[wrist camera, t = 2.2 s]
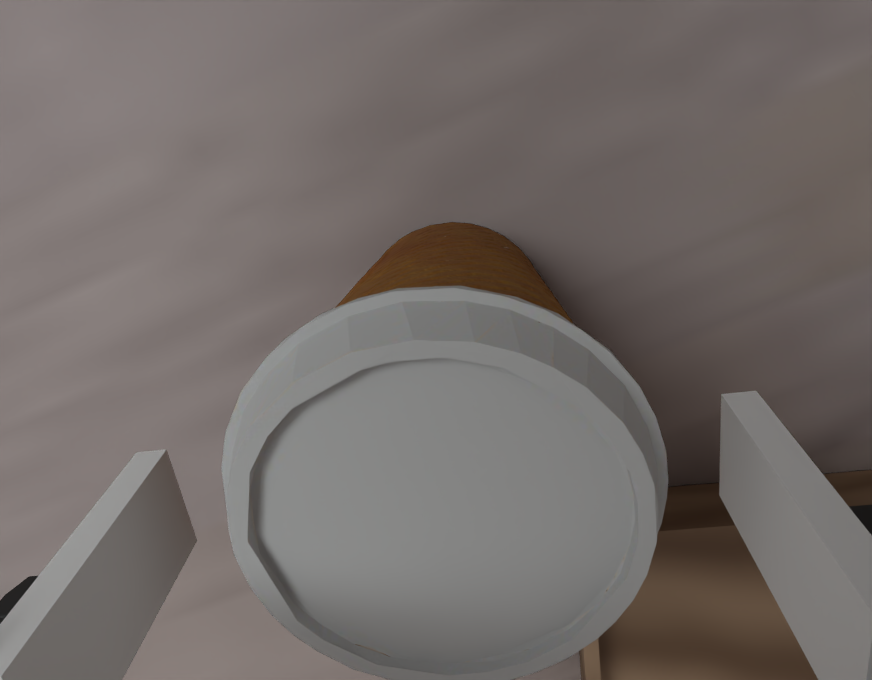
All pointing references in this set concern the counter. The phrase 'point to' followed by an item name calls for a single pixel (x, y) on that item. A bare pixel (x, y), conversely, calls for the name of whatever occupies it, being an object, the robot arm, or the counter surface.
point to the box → (706, 601)
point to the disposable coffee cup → (445, 470)
